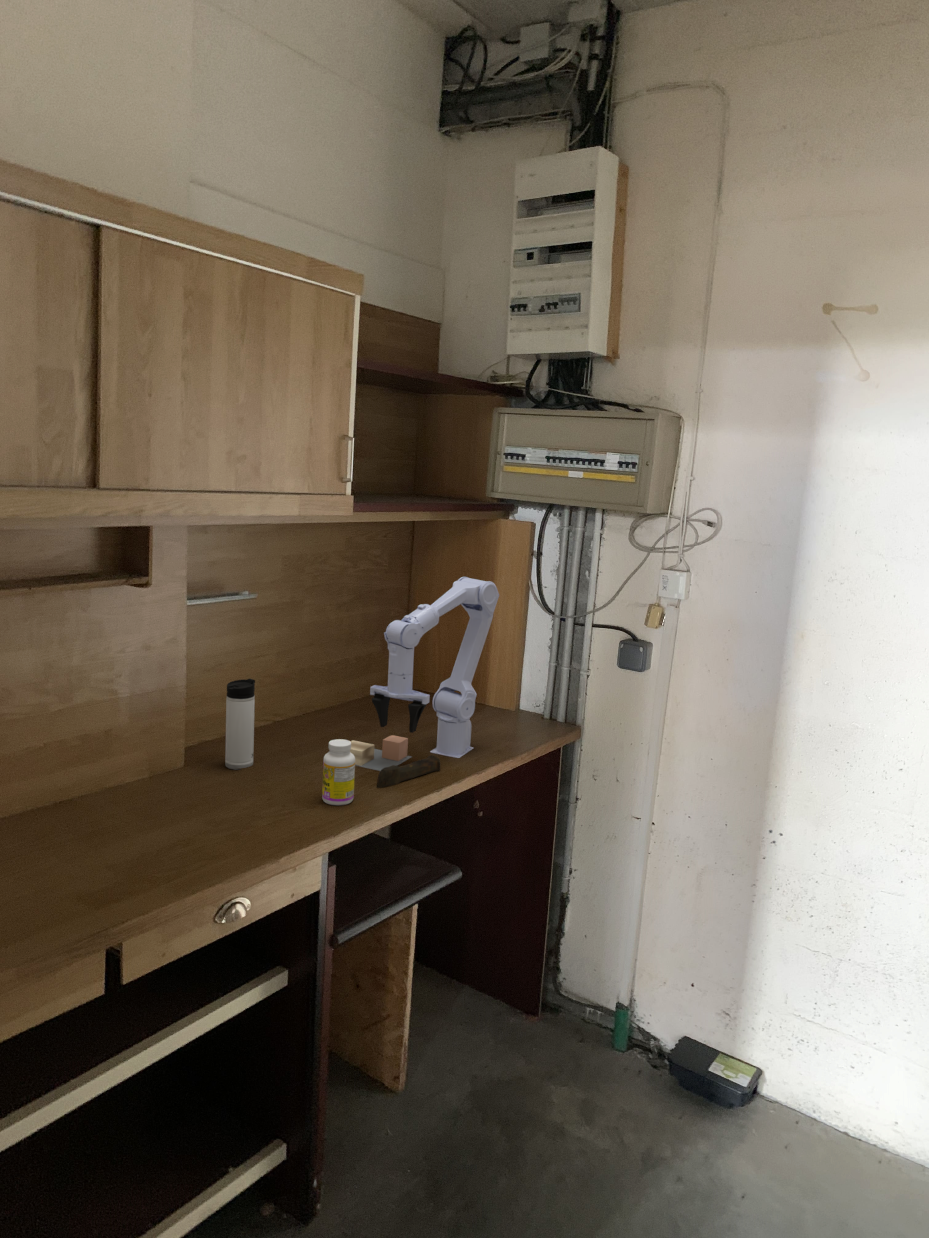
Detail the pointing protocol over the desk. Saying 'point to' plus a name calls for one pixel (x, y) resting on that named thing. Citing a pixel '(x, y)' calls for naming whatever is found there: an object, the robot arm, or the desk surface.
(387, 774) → the hand tool
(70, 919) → the desk surface
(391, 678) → the robot arm
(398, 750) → the terracotta cube
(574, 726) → the desk surface
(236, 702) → the travel mug
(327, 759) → the supplement bottle
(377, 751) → the rubber mat
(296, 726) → the desk surface
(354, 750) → the beech block
